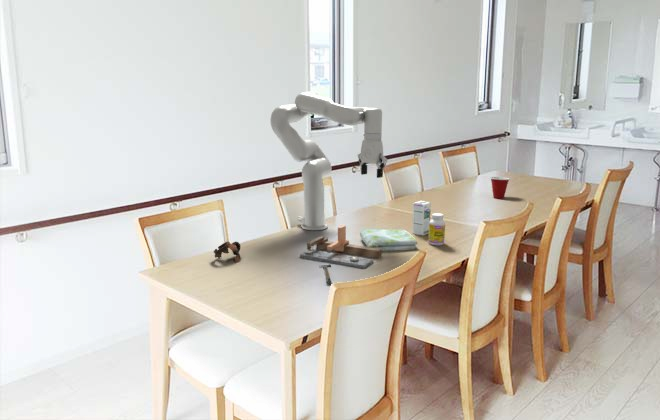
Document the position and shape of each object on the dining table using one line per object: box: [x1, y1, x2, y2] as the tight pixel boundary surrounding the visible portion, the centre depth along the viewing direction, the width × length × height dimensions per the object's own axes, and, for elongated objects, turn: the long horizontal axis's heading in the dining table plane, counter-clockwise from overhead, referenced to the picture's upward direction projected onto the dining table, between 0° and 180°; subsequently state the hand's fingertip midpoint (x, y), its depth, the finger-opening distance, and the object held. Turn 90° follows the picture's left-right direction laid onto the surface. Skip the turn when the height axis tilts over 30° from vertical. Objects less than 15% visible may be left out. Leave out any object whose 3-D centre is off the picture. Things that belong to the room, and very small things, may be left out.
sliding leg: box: [326, 224, 350, 253], centre depth 232 cm, size 4×14×10 cm, turn 152°
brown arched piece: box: [213, 240, 242, 263], centre depth 227 cm, size 12×10×8 cm
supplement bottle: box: [428, 212, 446, 246], centre depth 245 cm, size 7×7×13 cm
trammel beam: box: [306, 236, 383, 259], centre depth 231 cm, size 28×14×5 cm, turn 62°
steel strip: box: [299, 248, 374, 269], centre depth 226 cm, size 28×8×2 cm, turn 62°
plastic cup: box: [490, 176, 510, 200], centre depth 332 cm, size 11×11×12 cm
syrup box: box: [412, 200, 432, 236], centre depth 260 cm, size 6×6×14 cm
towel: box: [359, 228, 419, 252], centre depth 246 cm, size 18×21×5 cm
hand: (371, 175), depth 255 cm, fingers open, 9 cm apart
